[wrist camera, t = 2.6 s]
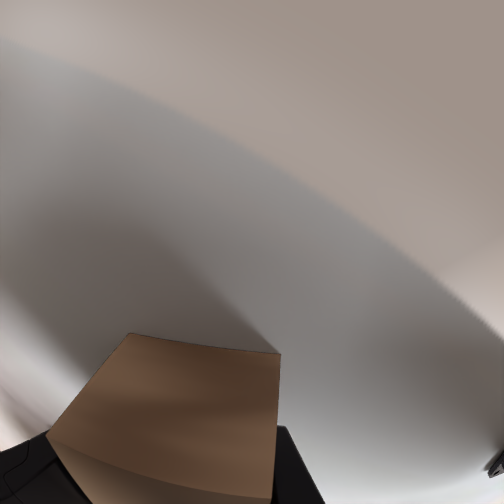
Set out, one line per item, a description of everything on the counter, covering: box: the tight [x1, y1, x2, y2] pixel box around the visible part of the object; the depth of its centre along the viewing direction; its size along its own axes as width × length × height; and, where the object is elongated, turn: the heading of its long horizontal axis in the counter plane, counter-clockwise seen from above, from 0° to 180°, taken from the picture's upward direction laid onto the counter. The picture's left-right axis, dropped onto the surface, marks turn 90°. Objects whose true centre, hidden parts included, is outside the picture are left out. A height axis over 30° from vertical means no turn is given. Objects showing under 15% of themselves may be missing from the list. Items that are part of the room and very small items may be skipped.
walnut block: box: [45, 333, 281, 504], centre depth 7 cm, size 4×4×4 cm
